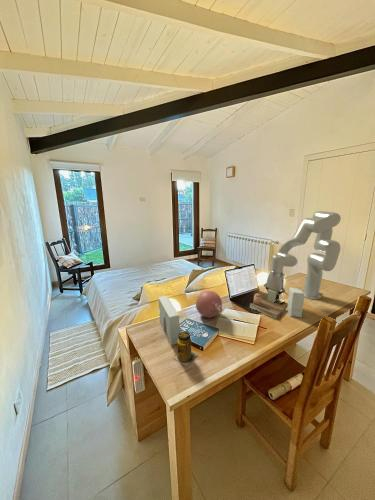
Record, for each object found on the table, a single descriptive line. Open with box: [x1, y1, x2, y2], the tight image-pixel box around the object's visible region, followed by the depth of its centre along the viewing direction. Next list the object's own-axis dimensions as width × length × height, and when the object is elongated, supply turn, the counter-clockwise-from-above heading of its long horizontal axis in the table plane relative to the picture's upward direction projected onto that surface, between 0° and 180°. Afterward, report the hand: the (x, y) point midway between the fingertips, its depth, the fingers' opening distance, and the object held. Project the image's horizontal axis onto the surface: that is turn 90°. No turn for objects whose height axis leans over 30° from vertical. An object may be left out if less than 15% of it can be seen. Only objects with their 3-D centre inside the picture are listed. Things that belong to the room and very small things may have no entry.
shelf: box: [249, 297, 287, 320], centre depth 134 cm, size 15×17×3 cm
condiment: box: [173, 331, 198, 367], centre depth 93 cm, size 7×8×12 cm
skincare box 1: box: [158, 294, 181, 346], centre depth 110 cm, size 21×6×16 cm, turn 22°
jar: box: [252, 292, 263, 306], centre depth 135 cm, size 5×5×7 cm
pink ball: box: [195, 290, 223, 319], centre depth 123 cm, size 15×20×15 cm
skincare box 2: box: [286, 287, 305, 318], centre depth 127 cm, size 8×7×16 cm
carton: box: [267, 289, 277, 303], centre depth 144 cm, size 6×5×8 cm
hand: (272, 297), depth 145 cm, fingers closed on carton, 4 cm apart
